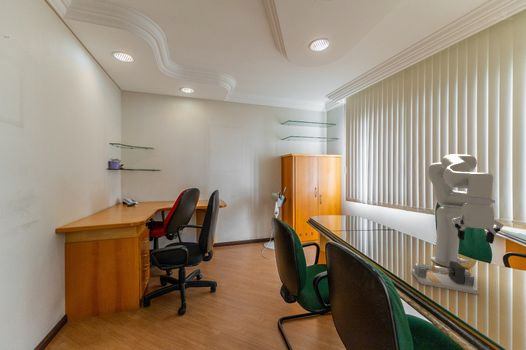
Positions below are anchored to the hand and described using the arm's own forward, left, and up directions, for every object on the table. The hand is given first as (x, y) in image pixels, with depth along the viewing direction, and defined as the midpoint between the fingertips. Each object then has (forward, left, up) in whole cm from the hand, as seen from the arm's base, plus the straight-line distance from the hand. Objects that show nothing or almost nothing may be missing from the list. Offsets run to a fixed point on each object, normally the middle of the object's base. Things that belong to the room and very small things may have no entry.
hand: (474, 240), depth 94 cm
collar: (+5, 0, -18) cm, 19 cm away
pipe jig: (+10, 0, -20) cm, 23 cm away
